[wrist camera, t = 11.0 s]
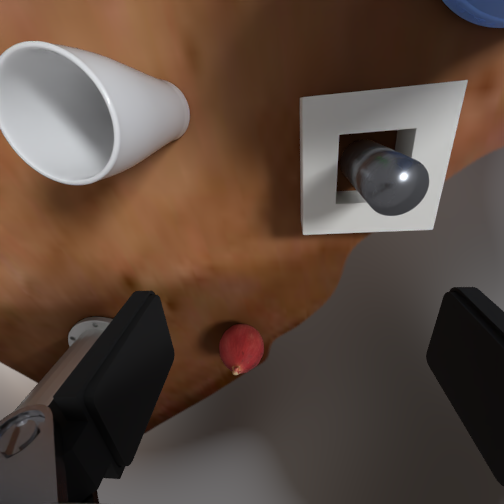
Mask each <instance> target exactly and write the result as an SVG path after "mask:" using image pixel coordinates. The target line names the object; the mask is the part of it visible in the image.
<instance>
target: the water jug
mask: <svg viewBox="0 0 504 504" xmlns="http://www.w3.org/2000/svg"><path fill="white" fill-rule="evenodd" d="M442 1H443V2H444V3H445V4H446V6H447V7H448V8H449V9H450V10H452V11H453V12H454V13H455V14H457V15H458V16H459V17H461V18H463V19H465V20H467V21H469V22H471V23H474V24H477V25H480V26H485V27H491V28H504V0H442Z"/></svg>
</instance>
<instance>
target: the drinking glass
mask: <svg viewBox="0 0 504 504" xmlns="http://www.w3.org/2000/svg"><path fill="white" fill-rule="evenodd" d="M189 121H190V110H189V105H188V102H187V100H186V98H185V96H184V95H183V93H182V92H181V91H180V90H179V89H178V88H177V87H176V86H175V85H174V84H172V83H170V82H168V81H166V80H162V79H157V78H155V77H152V76H150V75H148V74H145V73H143V72H141V71H138V70H136V69H134V68H132V67H129V66H127V65H125V64H123V63H120V62H118V61H115V60H113V59H111V58H108V57H105V56H103V55H100V54H97V53H93V52H90V51H86V50H82V49H78V48H74V47H69V46H64V45H58V44H52V43H47V42H41V41H26V42H22V43H18V44H16V45H13V46H11V47H10V48H8V49H7V50H6V51H5V52H4V53H3V54H2V55H1V56H0V129H1V131H2V133H3V135H4V136H5V138H6V140H7V141H8V143H9V144H10V145H11V147H12V148H13V149H14V151H15V152H16V153H17V154H18V155H19V156H20V157H21V158H22V159H23V160H24V161H25V162H26V163H27V164H28V165H29V166H30V167H32V168H33V169H34V170H36V171H37V172H39V173H40V174H42V175H44V176H45V177H47V178H49V179H52V180H54V181H57V182H60V183H63V184H68V185H87V184H91V183H94V182H97V181H100V180H103V179H106V178H109V177H111V176H114V175H116V174H119V173H121V172H123V171H126V170H128V169H130V168H131V167H133V166H135V165H137V164H138V163H140V162H142V161H143V160H145V159H146V158H147V157H149V156H150V155H152V154H153V153H155V152H156V151H158V150H159V149H161V148H162V147H164V146H165V145H167V144H168V143H170V142H172V141H175V140H177V139H179V138H180V137H181V136H182V135H183V134H184V133H185V131H186V130H187V128H188V125H189Z"/></svg>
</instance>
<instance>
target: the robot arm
mask: <svg viewBox="0 0 504 504" xmlns="http://www.w3.org/2000/svg"><path fill="white" fill-rule="evenodd" d="M68 343H69V346H70V347H69V349H68V350H67V351H66V352H65V353H64V354H63V355H62V357H61V358H60V359H59V360H58V361H57V362H56V363H55V365H54V366H53V367H52V368H51V369H50V370H49V372H48V373H47V374H46V375H45V376H44V377H43V378H42V380H41V381H40V382H39V383H38V384H37V385H36V387H35V388H34V389H33V390H32V391H31V392H30V393H29V395H28V396H27V397H26V398H25V399H24V400H23V401H22V403H21V404H20V405H19V406H18V407H17V408H16V409H15V411H14V412H13V413H11V414H9V415H8V416H6V417H5V418H3V419H2V420H1V421H0V504H99V499H98V493H97V489H98V487H99V485H100V483H101V481H102V479H103V478H114V479H120V478H121V475H122V473H123V471H124V468H125V466H129V465H130V464H131V462H132V461H133V458H134V456H135V454H136V451H137V449H138V446H139V444H140V441H141V439H142V436H143V434H144V432H145V429H146V427H147V424H148V422H149V419H150V417H151V415H152V412H153V410H154V407H155V405H156V402H157V400H158V397H159V395H160V393H161V390H162V388H163V385H164V383H165V380H166V378H167V375H168V373H169V371H170V368H171V366H172V363H173V360H174V348H173V345H172V341H171V337H170V334H169V330H168V326H167V322H166V319H165V315H164V311H163V308H162V304H161V300H160V297H159V296H158V295H155V293H154V292H153V291H135V292H134V293H133V294H132V295H131V297H130V298H129V299H128V301H127V302H126V303H125V304H124V306H123V307H122V308H121V309H120V311H119V312H118V313H117V315H116V316H115V317H114V318H113V319H111V318H105V317H89V318H85V319H82V320H81V321H79V322H78V323H76V325H75V326H74V327H73V328H72V329H71V330H70V332H69V335H68ZM426 358H427V363H428V365H429V367H430V369H431V370H432V372H433V373H434V375H435V377H436V379H437V380H438V382H439V384H440V385H441V387H442V389H443V390H444V392H445V394H446V395H447V397H448V399H449V400H450V402H451V404H452V406H453V407H454V409H455V411H456V412H457V414H458V416H459V417H460V419H461V421H462V422H463V424H464V426H465V427H466V429H467V431H468V432H469V434H470V436H471V438H472V439H473V441H474V443H475V444H476V446H477V447H478V449H479V451H480V453H481V454H482V456H483V458H484V459H485V461H486V463H487V464H488V466H489V468H490V469H491V471H492V473H493V475H494V476H495V478H496V479H497V481H498V482H499V483H500V484H501V485H502V486H504V312H503V311H502V310H501V309H500V308H499V307H498V306H496V304H494V303H493V302H492V301H491V300H490V299H489V298H488V297H487V296H485V295H484V294H483V293H482V292H481V291H480V290H478V289H477V288H475V287H454V288H452V289H451V290H450V291H449V292H447V293H445V295H444V297H443V300H442V304H441V307H440V310H439V314H438V317H437V320H436V324H435V327H434V330H433V334H432V337H431V340H430V344H429V347H428V350H427V355H426Z"/></svg>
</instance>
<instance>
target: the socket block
mask: <svg viewBox="0 0 504 504" xmlns="http://www.w3.org/2000/svg"><path fill="white" fill-rule="evenodd" d="M467 82H468V80H463V81H453V82H444V83H434V84H424V85H415V86H405V87H396V88H386V89H377V90H367V91H357V92H348V93H338V94H329V95H319V96H309V97H301V98H300V189H301V225H302V231H303V235H313V234H338V233H362V232H387V231H411V230H432V229H433V227H434V222H435V218H436V214H437V210H438V205H439V201H440V197H441V193H442V188H443V184H444V180H445V176H446V171H447V167H448V163H449V158H450V154H451V150H452V146H453V141H454V137H455V133H456V129H457V124H458V120H459V116H460V111H461V107H462V103H463V99H464V94H465V90H466V86H467ZM389 130H398V131H397V138H396V145H395V151H397V152H399V153H401V154H404V155H406V156H408V157H411V158H413V159H415V160H417V161H419V162H421V163H422V164H423V165H424V166H425V168H426V169H427V171H428V174H429V187H428V191H427V193H426V195H425V197H424V198H423V200H422V201H421V202H420V203H419V204H418V205H417V206H416V207H415V208H413V209H412V210H410V211H409V212H407V213H404V214H401V215H397V216H385V215H382V214H379V213H377V212H376V211H374V210H373V209H372V208H371V207H370V206H369V204H368V203H367V202H366V201H365V200H364V198H363V197H362V196H361V195H360V193H359V192H358V191H357V190H354V191H338V192H336V188H337V169H338V150H339V135H342V134H354V133H365V132H377V131H389Z"/></svg>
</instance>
